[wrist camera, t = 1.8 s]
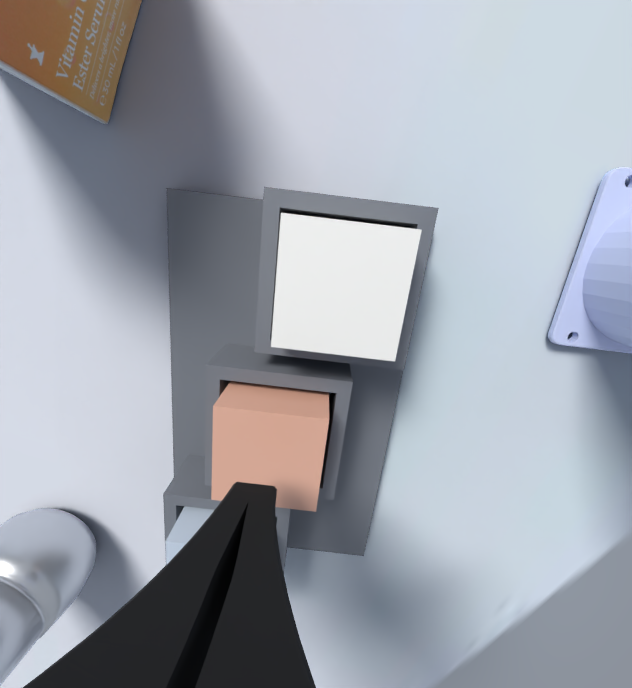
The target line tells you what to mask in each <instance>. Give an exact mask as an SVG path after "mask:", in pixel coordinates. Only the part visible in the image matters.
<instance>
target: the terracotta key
mask: <svg viewBox="0 0 632 688" xmlns="http://www.w3.org/2000/svg"><path fill="white" fill-rule="evenodd" d="M328 425H329V392H322V391H314V390H305V389H297V388H288V387H280V386H271V385H263V384H254V383H246V382H237V381H230V383H229V384H228V385H227V387H226V388H225V390H224V391H223V393H222V394H221V395H220V397H219V398H218V400H217V401H216V402H215V404H214V405H213V435H212V490H211V500H218V501H222V500H223V498H224V497H225V496H226V494H227V493H228V491H229V490H230V488H231V487H232V485H233V484H234V483H236V482H244V483H252V484H261V485H270V486H275V488H276V489H277V496H276V506H275V507H279V508H288V509H296V510H305V511H314V512H316V508H317V501H318V495H319V488H320V481H321V474H322V467H323V460H324V453H325V446H326V439H327V432H328Z"/></svg>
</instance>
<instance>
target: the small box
mask: <svg viewBox="0 0 632 688" xmlns="http://www.w3.org/2000/svg"><path fill="white" fill-rule="evenodd" d="M141 2H142V0H0V68H1V69H2V70H4V71H6V72H8V73H10V74H12V75H13V76H15V77H17V78H19V79H21V80H23V81H24V82H26V83H28V84H30V85H32V86H34V87H35V88H37V89H39V90H41V91H43V92H45V93H47V94H48V95H50V96H52V97H54V98H56V99H58V100H60V101H62V102H63V103H65V104H67V105H69V106H71V107H73V108H75V109H77V110H78V111H80V112H82V113H84V114H86V115H88V116H90V117H91V118H93V119H95V120H97V121H99V122H101V123H103V124H107V123H108V122H109V119H110V115H111V110H112V106H113V102H114V97H115V93H116V89H117V85H118V81H119V77H120V74H121V70H122V66H123V63H124V60H125V56H126V52H127V49H128V45H129V42H130V39H131V36H132V32H133V29H134V25H135V22H136V18H137V15H138V12H139V8H140V5H141Z"/></svg>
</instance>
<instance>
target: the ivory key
mask: <svg viewBox="0 0 632 688" xmlns="http://www.w3.org/2000/svg"><path fill="white" fill-rule="evenodd" d="M421 231H422V230H421V229H412V228H404V227H396V226H387V225H379V224H371V223H363V222H354V221H346V220H338V219H329V218H321V217H313V216H305V215H296V214H288V213H281V219H280V232H279V245H278V259H277V272H276V285H275V299H274V312H273V325H272V338H271V347H276V348H285V349H293V350H302V351H310V352H319V353H327V354H335V355H344V356H352V357H361V358H369V359H378V360H386V361H395V359H396V354H397V349H398V344H399V339H400V335H401V330H402V325H403V320H404V315H405V310H406V305H407V300H408V295H409V290H410V285H411V280H412V275H413V270H414V265H415V261H416V256H417V251H418V246H419V241H420V236H421Z"/></svg>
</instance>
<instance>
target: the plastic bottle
mask: <svg viewBox="0 0 632 688" xmlns="http://www.w3.org/2000/svg"><path fill="white" fill-rule="evenodd" d="M95 559H96V541H95V537H94V535H93V533H92V532H91V530H90V529H89V527H88V526H87V525H86V524H85V523H84V522H83V521H81V520H80V519H79V518H77V517H76V516H74V515H72V514H70V513H68V512H66V511H62V510H59V509H52V508H41V509H36V510H32V511H28V512H25V513H21V514H18V515H16V516H14V517H12V518H10V519H9V520H7V521H6V522H4V523H3V524H1V525H0V686H1V684H2V683H3V682H4V681H5V679H6V678H7V677H8V676H9V675H10V673H11V672H12V671H13V670H14V668H15V667H16V666H17V665H18V663H19V662H20V661H21V660H22V659H23V657H24V656H25V655H26V654H27V652H28V651H29V650H30V649H31V648H32V646H33V645H34V644H35V643H36V641H37V640H38V639H39V638H41V637H42V636H43V634H44V633H45V632H46V631H47V630H48V629H49V628H50V627H51V626H52V625H53V624H54V623H55V622H56V621H57V620H58V619H59V618H60V617H61V615H62V614H63V613H64V612H65V611H66V610H67V608H68V607H69V606H70V605H71V604H72V603H73V601H74V600H75V599H76V598H77V597H78V596H79V594H80V592H81V590H82V588H83V586H84V584H85V583H86V581H87V579H88V577H89V575H90V573H91V571H92V569H93V567H94V564H95Z"/></svg>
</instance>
